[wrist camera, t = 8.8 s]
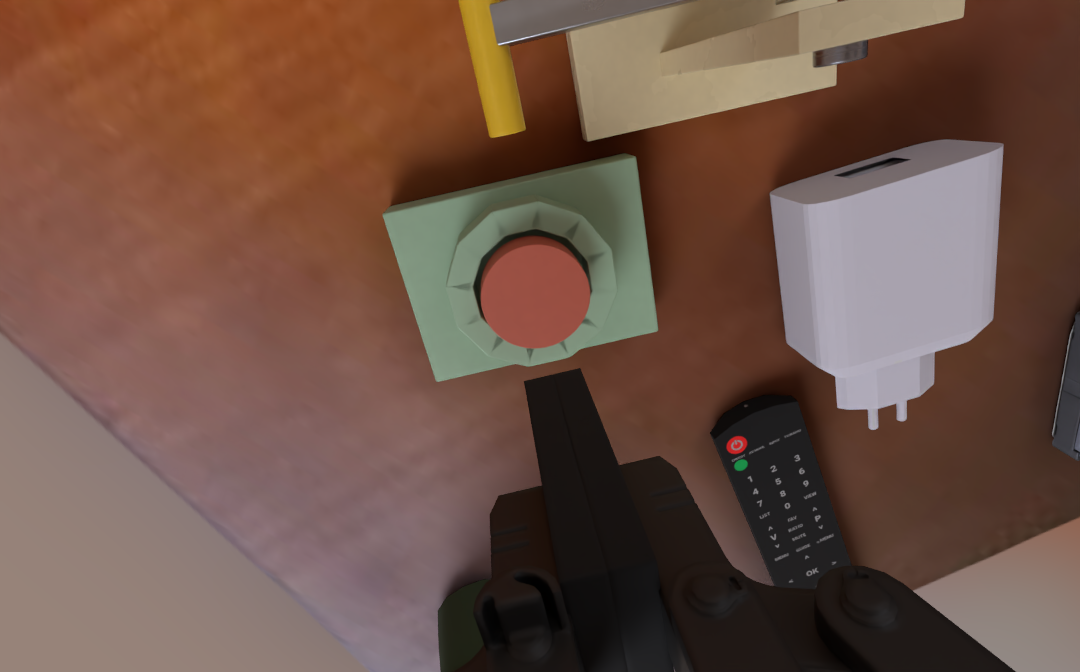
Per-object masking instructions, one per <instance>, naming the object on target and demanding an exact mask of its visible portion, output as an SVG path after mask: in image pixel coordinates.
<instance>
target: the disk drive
mask: <svg viewBox="0 0 1080 672" xmlns="http://www.w3.org/2000/svg"><path fill="white" fill-rule="evenodd" d="M1067 347H1068V348H1067V354H1066V360H1065V365H1064V372H1063V376H1062V383H1061V388H1060V394H1059V399H1058V404H1057V409H1056V416H1055V421H1054V427H1053V432H1052V436H1053V437H1054V440H1053V442H1052V445H1053V446H1054V447H1056V448H1057V449H1059V450H1061V451H1062V452H1064V453H1065V454H1067V455H1069V456H1070V457H1072V458H1074V459H1075V460H1077V461H1079V460H1080V311H1078V312H1077V313H1076V316H1075V322H1074V325H1073V329H1072V330H1071V333H1070V338H1069V344H1068V346H1067Z"/></svg>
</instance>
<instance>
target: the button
mask: <svg viewBox="0 0 1080 672" xmlns="http://www.w3.org/2000/svg"><path fill="white" fill-rule="evenodd" d="M589 303H590V286H589V282H588V278H587V276H586V273H585V271H584V270H583V268H582V266H581V265H580V263H579V262H578V260H577V258H576V257H575V256H574V254H573V253H572V252H571V251H570V250H569V249H568V248H567V247H566V246H564V245H563V244H562V243H560V242H558V241H556V240H554V239H551V238H548V237H544V236H536V235H534V236H523V237H519V238H516V239H513V240H511V241H509V242H507V243H505V244H504V245H502V246H501V247H500V248H499V249H497V250H496V251H495V252H494V253H493V255H492V256H491V257H490V259H489V260H488V262H487V264H486V266H485V268H484V271H483V274H482V278H481V306H482V311H483V314H484V317H485V319H486V321H487V323H488V324H489V326H490V327H491V329H492V330H493V331H494V332H495V333H496V334H497V335H498V336H499V337H501V338H502V339H504V340H505V341H507V342H509V343H511V344H513V345H516V346H519V347H524V348H533V349H534V348H544V347H549V346H552V345H555V344H557V343H560V342H561V341H563V340H565V339H566V338H568V337H569V336H570V335H572V334H573V333H574V332H575V331H576V330H577V328H578V327H579V326H580V325H581V323H582V322H583V320H584V318H585V316H586V314H587V311H588V308H589Z"/></svg>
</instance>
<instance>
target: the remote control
mask: <svg viewBox="0 0 1080 672" xmlns="http://www.w3.org/2000/svg"><path fill="white" fill-rule="evenodd" d="M710 434H711V437H712V439H713V441H714V444H715V446H716V448H717V451H718V453H719V456H720V458H721V460H722V463H723V465H724V467H725V470H726V472H727V474H728V477H729V479H730V482H731V484H732V486H733V489H734V491H735V493H736V496H737V498H738V500H739V503H740V505H741V508H742V510H743V512H744V515H745V517H746V519H747V522H748V524H749V526H750V529H751V531H752V534H753V536H754V538H755V541H756V543H757V545H758V548H759V550H760V553H761V555H762V557H763V560H764V562H765V564H766V567H767V569H768V571H769V574H770V576H771V579H772V581H773V583H774V586H776V587H783V588H803V589H816V586H817V582H818V579H819V578H821V577H822V576H823V575H824V574H825V573H826V572H828V571H829V570H831V569H835V568H838V567H842V566H852V565H851V562H850V559H849V556H848V553H847V550H846V547H845V544H844V541H843V538H842V535H841V532H840V529H839V526H838V523H837V520H836V517H835V514H834V511H833V507H832V504H831V501H830V498H829V495H828V492H827V489H826V486H825V483H824V480H823V477H822V474H821V471H820V468H819V465H818V462H817V459H816V456H815V453H814V450H813V447H812V444H811V441H810V438H809V434H808V431H807V428H806V425H805V422H804V419H803V416H802V413H801V410H800V407H799V404H798V401H797V400H796V399H794V398H793V397H792V396H786V395H763V396H760V397H757V398H754V399H750V400H747V401H744V402H742V403H740V404H739V405H737V406H735V407H734V408H732V409H731V410H729V411H727V412H726V413H724V414H723V416H722V417H721V419H720V420H719V421H718V423H717V424H716V425H715V427H714V428H713V429H712V431H711V432H710Z"/></svg>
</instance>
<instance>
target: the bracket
mask: <svg viewBox="0 0 1080 672" xmlns="http://www.w3.org/2000/svg"><path fill="white" fill-rule="evenodd" d="M964 7H965V0H845V1H840V2H837V0H796V1H792V2H788V3H783V4H779V5H776V4H775V0H699V1H695V2H691V3H687V4H682V5H678V6H674V7H670V8H666V9H662V10H658V11H654V12H649V13H645V14H641V15H637V16H633V17H629V18H625V19H621V20H616V21H612V22H608V23H604V24H600V25H596V26H592V27H588V28H583V29H579V30H575V31H571V32H567V33H566V38H567V44H568V50H569V56H570V62H571V68H572V74H573V81H574V87H575V93H576V99H577V105H578V111H579V117H580V123H581V129H582V135H583V140H585V141H593V140H597V139H602V138H606V137H611V136H615V135H620V134H624V133H628V132H633V131H637V130H642V129H646V128H650V127H655V126H659V125H664V124H668V123H673V122H677V121H681V120H686V119H690V118H695V117H699V116H704V115H708V114H712V113H717V112H721V111H726V110H730V109H734V108H739V107H743V106H748V105H752V104H757V103H761V102H765V101H770V100H774V99H779V98H783V97H787V96H792V95H796V94H801V93H805V92H810V91H814V90H818V89H823V88H827V87H832V86H835V85H836V74H837V64H841V63H846V62H851V61H855V60H859V59H863V58H865V57H867V55H868V39H871V38H876V37H880V36H885V35H889V34H893V33H898V32H902V31H907V30H911V29H916V28H920V27H924V26H929V25H933V24H938V23H942V22H947V21H951V20H955V19H960V18H962V17H963V16H964Z"/></svg>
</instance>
